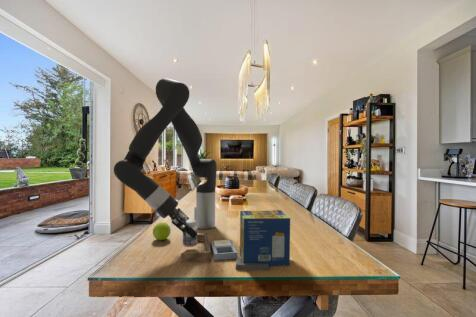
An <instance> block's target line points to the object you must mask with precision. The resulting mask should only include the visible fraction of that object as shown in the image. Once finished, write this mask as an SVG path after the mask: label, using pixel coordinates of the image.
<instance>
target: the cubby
mask: <svg viewBox="0 0 476 317" xmlns="http://www.w3.org/2000/svg"><path fill="white" fill-rule="evenodd" d="M197 242H203V243H204V250H205V251H204V250H203V251H193V252H192V251H191V252H181V253H180V263H192V262H193V263H194V262H204V261H205V262H206V261H207V262H208V261H212V249H211V244H210V242H209V237H208V233H197Z"/></svg>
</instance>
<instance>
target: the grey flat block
mask: <svg viewBox="0 0 476 317" xmlns="http://www.w3.org/2000/svg"><path fill="white" fill-rule="evenodd" d="M235 263H236V264H235V270H242V271H265V272H268V271H269V269H270V268H269V267H270V266H269V265H268V264H263V263H242V258H241V257H238V258H236V262H235Z"/></svg>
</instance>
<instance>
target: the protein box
mask: <svg viewBox="0 0 476 317" xmlns="http://www.w3.org/2000/svg"><path fill="white" fill-rule="evenodd" d="M239 213H240V214H239V217H240V218H239V219H240V221H239V223H240V224H239V227H240V228H239V254H240V258H242V263H263V264H268V265H269V267H290V263H291V262H290V260H291V258H290V257H291V256H290V255H291V254H290V253H291V218H290V217H289V216H288V215H287V214H286V213H285V212H284V211H282V210H278V209H277V210H275V209H274V210H240V211H239Z"/></svg>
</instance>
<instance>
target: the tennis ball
mask: <svg viewBox="0 0 476 317" xmlns="http://www.w3.org/2000/svg"><path fill="white" fill-rule="evenodd" d="M171 231H172V230H171V227H170V225H169V224H168V223H166V222H159V223H158V222H157V223H156V224H155V225H154V227H153V229H152V235H153V238H154V239H155V240H157V241H163V240H164V241H165V240H167V238H168V237H169V236H170V235H171ZM168 239H169V238H168Z"/></svg>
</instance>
